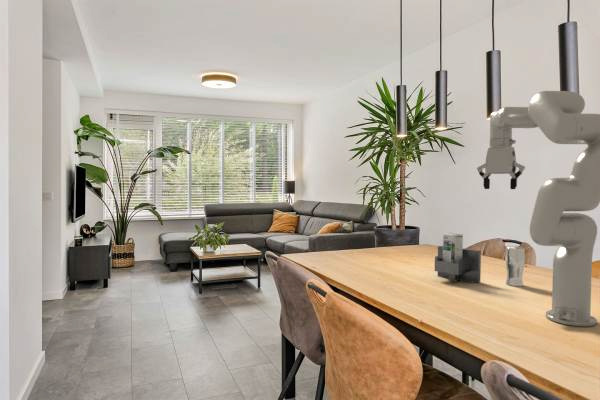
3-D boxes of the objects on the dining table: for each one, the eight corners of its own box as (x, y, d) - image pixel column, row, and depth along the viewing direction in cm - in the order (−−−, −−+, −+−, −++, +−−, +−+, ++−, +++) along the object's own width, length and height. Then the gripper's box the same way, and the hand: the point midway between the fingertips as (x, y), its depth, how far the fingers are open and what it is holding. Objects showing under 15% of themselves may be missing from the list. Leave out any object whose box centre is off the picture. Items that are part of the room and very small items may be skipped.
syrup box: (441, 267, 173) (442, 233, 172) (451, 266, 175) (452, 232, 175) (452, 270, 168) (453, 234, 167) (462, 268, 170) (463, 233, 170)
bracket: (467, 286, 162) (468, 253, 161) (426, 278, 175) (426, 248, 174) (480, 282, 169) (480, 250, 169) (439, 275, 182) (440, 245, 182)
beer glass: (526, 287, 161) (527, 249, 160) (507, 286, 162) (508, 248, 162) (521, 283, 168) (521, 246, 167) (502, 282, 169) (503, 245, 169)
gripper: (528, 143, 153) (527, 189, 154) (482, 146, 166) (481, 188, 167) (521, 141, 148) (520, 189, 149) (473, 145, 161) (472, 188, 162)
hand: (499, 189), depth 158 cm, fingers open, 9 cm apart
